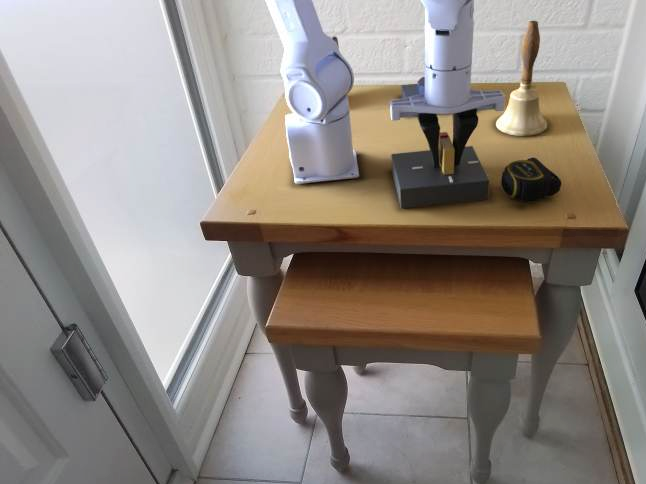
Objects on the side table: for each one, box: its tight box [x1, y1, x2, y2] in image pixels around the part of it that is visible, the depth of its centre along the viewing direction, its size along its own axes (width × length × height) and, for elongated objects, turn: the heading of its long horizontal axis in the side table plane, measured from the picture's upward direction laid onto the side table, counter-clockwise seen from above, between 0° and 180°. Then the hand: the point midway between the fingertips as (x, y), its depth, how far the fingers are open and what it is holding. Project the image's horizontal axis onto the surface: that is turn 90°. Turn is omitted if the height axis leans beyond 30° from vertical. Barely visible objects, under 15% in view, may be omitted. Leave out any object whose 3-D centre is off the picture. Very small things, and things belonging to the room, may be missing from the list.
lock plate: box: [391, 145, 490, 209], centre depth 75 cm, size 12×10×3 cm
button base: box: [400, 76, 472, 99], centre depth 96 cm, size 12×9×4 cm
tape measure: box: [500, 156, 562, 203], centre depth 72 cm, size 7×7×4 cm
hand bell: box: [495, 20, 548, 137], centre depth 84 cm, size 8×8×16 cm
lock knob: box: [439, 131, 455, 175], centre depth 73 cm, size 5×1×4 cm, turn 5°
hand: (445, 163), depth 74 cm, fingers closed
